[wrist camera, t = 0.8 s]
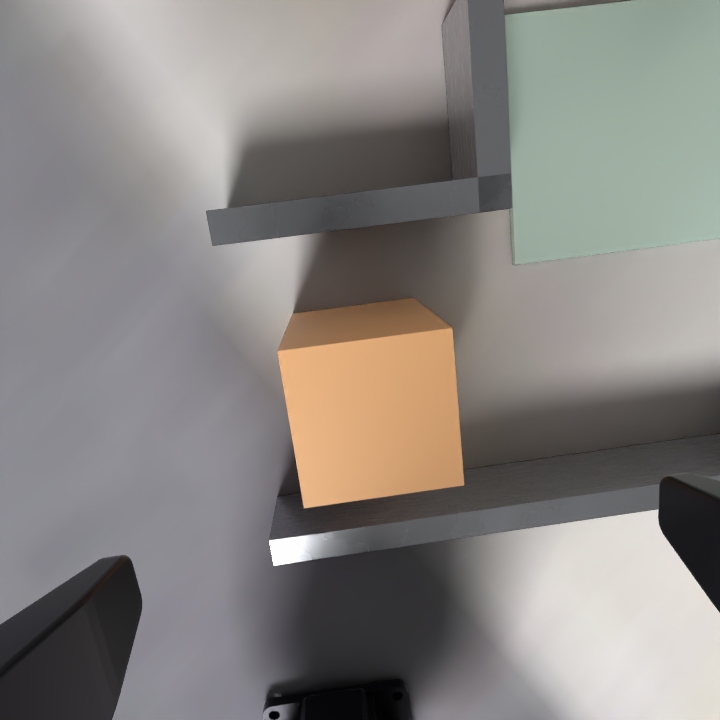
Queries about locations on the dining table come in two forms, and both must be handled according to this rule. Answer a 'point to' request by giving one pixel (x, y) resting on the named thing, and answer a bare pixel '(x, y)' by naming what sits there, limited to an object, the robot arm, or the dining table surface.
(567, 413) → the dining table surface
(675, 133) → the pad
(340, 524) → the steel rail course
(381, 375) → the orange block
